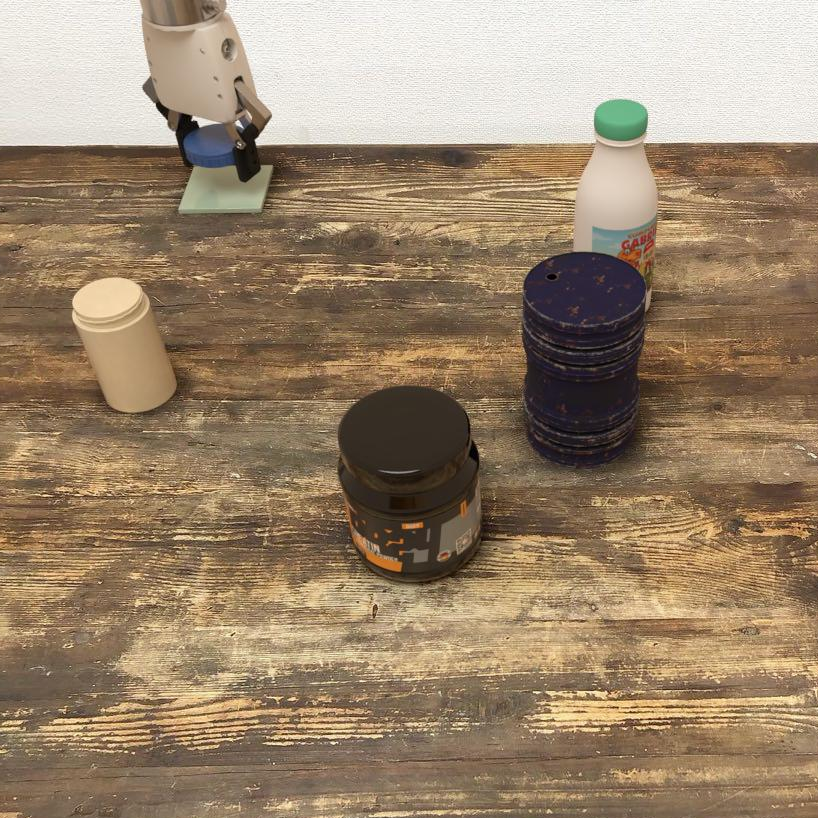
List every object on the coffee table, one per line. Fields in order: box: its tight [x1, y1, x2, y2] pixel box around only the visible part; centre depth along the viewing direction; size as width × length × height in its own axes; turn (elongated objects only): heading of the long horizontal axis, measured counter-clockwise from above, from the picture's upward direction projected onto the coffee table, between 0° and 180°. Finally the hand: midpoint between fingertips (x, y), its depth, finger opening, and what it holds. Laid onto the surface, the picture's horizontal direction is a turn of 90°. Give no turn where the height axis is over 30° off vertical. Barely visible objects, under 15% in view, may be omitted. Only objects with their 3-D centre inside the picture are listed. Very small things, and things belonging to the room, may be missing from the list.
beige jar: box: [71, 277, 178, 414], centre depth 94 cm, size 6×6×10 cm
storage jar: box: [521, 251, 647, 469], centre depth 88 cm, size 10×10×15 cm
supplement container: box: [336, 384, 484, 583], centre depth 81 cm, size 10×10×12 cm
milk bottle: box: [572, 98, 659, 312], centre depth 98 cm, size 8×8×20 cm
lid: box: [184, 122, 244, 168], centre depth 116 cm, size 7×7×2 cm
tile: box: [177, 164, 275, 215], centre depth 120 cm, size 9×9×1 cm
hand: (222, 167), depth 118 cm, fingers closed on lid, 6 cm apart
